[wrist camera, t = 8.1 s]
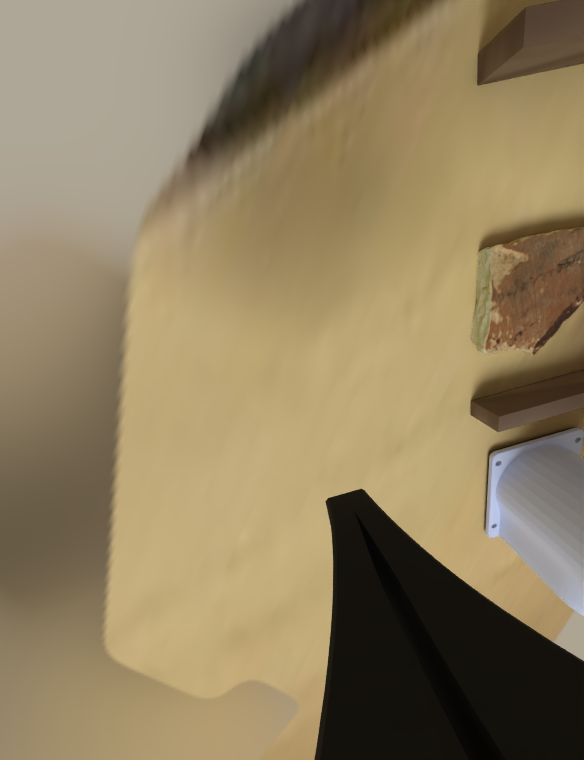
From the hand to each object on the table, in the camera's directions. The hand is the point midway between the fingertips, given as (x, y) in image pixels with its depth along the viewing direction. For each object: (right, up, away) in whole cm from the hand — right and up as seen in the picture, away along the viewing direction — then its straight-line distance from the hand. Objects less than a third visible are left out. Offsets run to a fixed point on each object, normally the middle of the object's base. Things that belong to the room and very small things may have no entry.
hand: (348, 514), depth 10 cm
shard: (+13, +12, +9) cm, 20 cm away
